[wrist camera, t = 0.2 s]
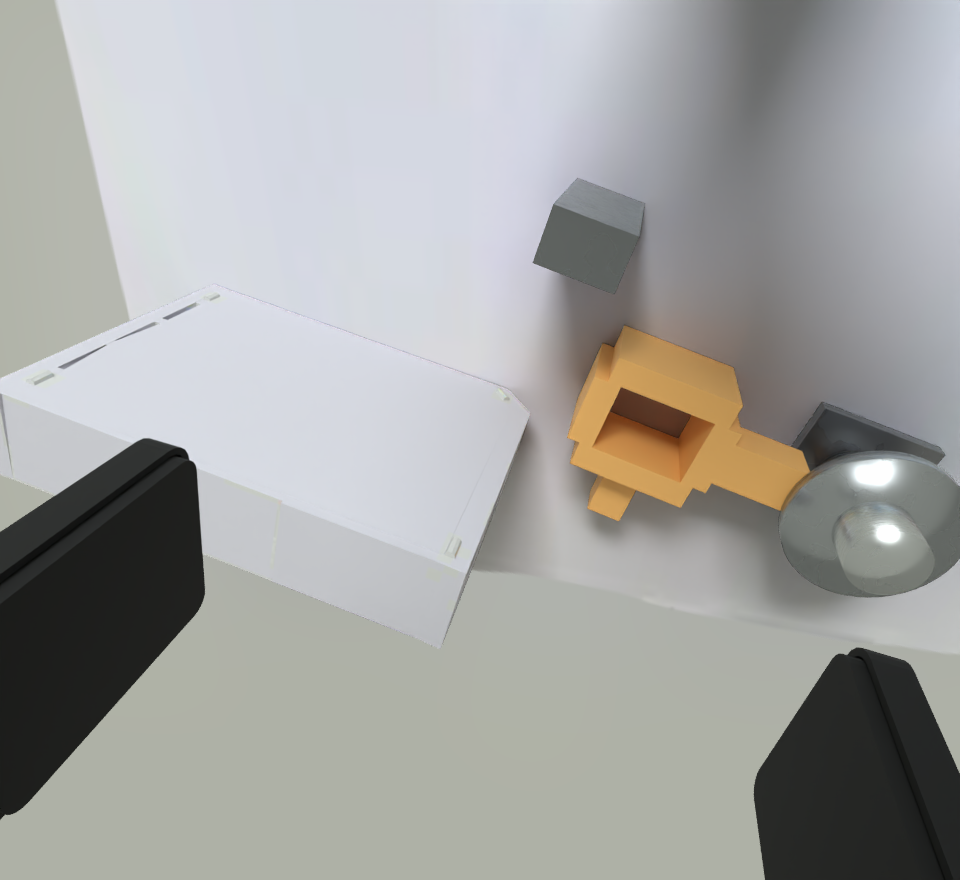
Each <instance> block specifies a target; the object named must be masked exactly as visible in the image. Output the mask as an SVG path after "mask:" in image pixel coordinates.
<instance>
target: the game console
mask: <svg viewBox="0 0 960 880" xmlns="http://www.w3.org/2000/svg"><path fill="white" fill-rule="evenodd" d="M530 414H531V413H530V412H529V411H528V410H527V409H526V408H525V407H524V405H523V404H522V403H521V402H520V401H519V400H518V399H517V398H516V397H515V396H514V394H513V393H512V392H511V391H510V390H509V389H506V388H504V387H501V386H498V385H495V384H492V383H490V382H487V381H484V380H481V379H478V378H476V377H473V376H470V375H467V374H464V373H462V372H459V371H456V370H453V369H450V368H448V367H445V366H442V365H439V364H436V363H434V362H431V361H428V360H425V359H422V358H419V357H417V356H414V355H411V354H408V353H405V352H403V351H400V350H397V349H394V348H391V347H389V346H386V345H383V344H380V343H377V342H375V341H372V340H369V339H366V338H363V337H361V336H358V335H355V334H352V333H349V332H347V331H344V330H341V329H338V328H335V327H333V326H330V325H327V324H324V323H321V322H318V321H316V320H313V319H310V318H307V317H304V316H302V315H299V314H296V313H293V312H290V311H288V310H285V309H282V308H279V307H276V306H274V305H271V304H268V303H265V302H262V301H260V300H257V299H254V298H251V297H248V296H246V295H243V294H240V293H237V292H234V291H232V290H229V289H226V288H223V287H221V286H218V285H215V284H212V285H209V286H207V287H205V288H203V289H200V290H198V291H196V292H194V293H191V294H189V295H187V296H185V297H182V298H180V299H178V300H176V301H173V302H171V303H169V304H167V305H164V306H162V307H160V308H158V309H155V310H153V311H151V312H149V313H146V314H144V315H142V316H140V317H137V318H135V319H133V320H131V321H128V322H126V323H124V324H122V325H119V326H117V327H115V328H113V329H110V330H108V331H106V332H104V333H102V334H99V335H97V336H94V337H92V338H90V339H88V340H86V341H83V342H81V343H79V344H76V345H74V346H72V347H70V348H68V349H65V350H63V351H61V352H58V353H56V354H54V355H52V356H49V357H47V358H45V359H43V360H40V361H38V362H36V363H34V364H31V365H29V366H27V367H25V368H22V369H20V370H18V371H16V372H13V373H11V374H9V375H7V376H4V377H2V378H0V475H2V476H5V477H8V478H10V479H13V480H16V481H19V482H21V483H23V484H26V485H29V486H31V487H34V488H36V489H39V490H41V491H44V492H46V493H49V494H52V495H54V496H55V495H57V494H58V493H60V492H61V491H63V490H64V489H66V488H67V487H69V486H70V485H72V484H73V483H75V482H76V481H78V480H79V479H81V478H82V477H84V476H85V475H87V474H88V473H90V472H91V471H93V470H94V469H96V468H98V467H99V466H101V465H102V464H104V463H105V462H107V461H108V460H110V459H111V458H113V457H114V456H116V455H117V454H119V453H120V452H122V451H123V450H125V449H126V448H128V447H129V446H131V445H132V444H134V443H135V442H137V441H139V440H141V439H143V438H151V439H154V440H157V441H161V442H164V443H168V444H171V445H174V446H178V447H181V448H183V449H185V450H186V452H187V453H188V455H189V460H191V461H193V462H194V463H195V465H196V469H197V480H198V495H199V510H200V525H201V539H202V554H204V555H206V556H209V557H211V558H214V559H216V560H219V561H221V562H224V563H227V564H229V565H232V566H234V567H237V568H239V569H242V570H244V571H247V572H249V573H252V574H254V575H257V576H260V577H262V578H265V579H267V580H270V581H272V582H275V583H277V584H280V585H282V586H285V587H287V588H290V589H292V590H295V591H297V592H300V593H303V594H305V595H308V596H310V597H313V598H315V599H318V600H320V601H323V602H325V603H328V604H330V605H333V606H336V607H338V608H341V609H343V610H346V611H348V612H351V613H353V614H356V615H358V616H361V617H363V618H366V619H368V620H371V621H373V622H376V623H379V624H381V625H384V626H386V627H389V628H391V629H394V630H396V631H399V632H402V633H404V634H406V635H409V636H412V637H414V638H416V639H419V640H421V641H423V642H425V643H428V644H430V645H432V646H434V647H436V648H439V649H441V646H442V644H443V641H444V639H445V636H446V634H447V631H448V628H449V626H450V623H451V620H452V618H453V616H454V613H455V610H456V608H457V605H458V603H459V600H460V598H461V595H462V593H463V590H464V588H465V585H466V582H467V580H468V578H469V575H470V572H471V570H472V567H473V565H474V562H475V560H476V557H477V555H478V552H479V550H480V547H481V544H482V542H483V539H484V537H485V534H486V532H487V529H488V527H489V524H490V522H491V519H492V516H493V514H494V511H495V509H496V506H497V504H498V501H499V499H500V496H501V494H502V491H503V488H504V486H505V483H506V481H507V478H508V476H509V473H510V470H511V467H512V465H513V462H514V459H515V456H516V453H517V451H518V448H519V445H520V442H521V439H522V436H523V434H524V431H525V428H526V425H527V422H528V420H529V417H530Z"/></svg>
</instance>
